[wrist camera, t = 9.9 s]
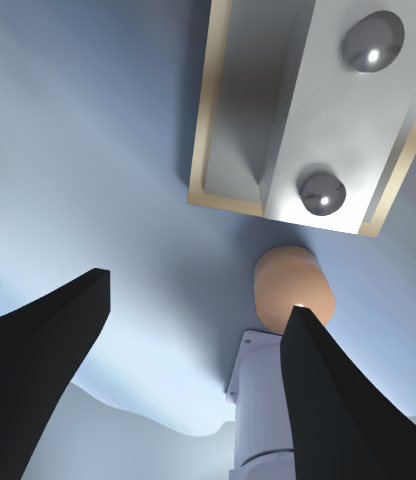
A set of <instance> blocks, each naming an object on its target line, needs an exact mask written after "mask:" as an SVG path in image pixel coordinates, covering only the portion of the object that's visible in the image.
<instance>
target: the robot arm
mask: <svg viewBox="0 0 416 480" xmlns="http://www.w3.org/2000/svg"><path fill="white" fill-rule="evenodd" d="M109 313H110V271H109V270H104V269H99V268H94V269H92V270H90V271H88V272H86V273H84V274H83V275H81V276H79V277H77V278H76V279H74V280H72V281H70V282H69V283H67V284H65V285H63V286H61V287H60V288H58V289H56V290H54V291H52V292H51V293H49V294H47V295H45V296H43V297H41V298H39V299H37V300H35V301H33V302H31V303H29V304H27V305H25V306H23V307H21V308H19V309H17V310H15V311H12V312H10V313H8V314H6V315H3V316H1V317H0V480H21V478H22V475H23V473H24V471H25V469H26V467H27V464H28V462H29V460H30V458H31V456H32V454H33V452H34V450H35V448H36V446H37V444H38V441H39V439H40V437H41V435H42V433H43V431H44V429H45V427H46V425H47V423H48V421H49V419H50V417H51V415H52V413H53V411H54V409H55V407H56V405H57V403H58V401H59V399H60V398H61V396H62V394H63V392H64V391H65V389H66V387H67V385H68V384H69V382H70V381H71V379H72V378H73V376H74V374H75V373H76V371H77V370H78V368H79V367H80V365H81V363H82V362H83V360H84V359H85V357H86V355H87V354H88V352H89V351H90V349H91V348H92V346H93V344H94V343H95V341H96V340H97V338H98V336H99V335H100V333H101V331H102V329H103V326H104V324H105V322H106V320H107V318H108V316H109ZM247 340H249V341H247ZM226 401H227V402H229V403H233V404H236V416H235V458H234V459H235V460H234V465H235V469H233V470H230V471H229V480H416V425H415V424H414V423H413V422H412V421H411V420H409V419H408V418H407V417H406V416H405V415H404V414H403V413H402V412H401V411H399V410H398V409H397V408H396V407H395V406H394V405H393V404H392V403H391V402H390V401H389V400H388V399H387V398H386V397H385V396H384V395H383V394H382V393H381V392H380V391H379V390H378V389H377V388H376V387H375V386H374V385H373V384H372V383H371V382H370V381H369V380H368V379H367V378H366V377H365V375H364V374H363V373H362V372H361V371H360V370H359V369H358V368H357V366H356V365H355V364H354V363H353V362H352V361H351V360H350V358H349V357H348V356H347V355H346V354H345V352H344V351H343V350H342V349H341V348H340V346H339V345H338V344H337V343H336V341H335V340H334V339H333V338H332V336H331V335H330V334H329V332H328V331H327V330H326V329H325V327H324V326H323V325H322V323H321V322H320V321H319V319H318V318H317V317H316V316H315V314H314V313H313V312H312V310H311V309H310V308H306V307H301V306H295V305H294V306H293V309H292V311H291V314H290V317H289V320H288V322H287V325H286V328H285V330H284V333H283V336H277V335H272V334H267V333H262V332H256V331H251V330H247V331H245V332H244V334H243V337H242V341H241V344H240V348H239V352H238V355H237V359H236V362H235V366H234V369H233V373H232V377H231V380H230V384H229V387H228V391H227V395H226Z"/></svg>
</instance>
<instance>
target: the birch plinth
mask: <svg viewBox="0 0 416 480" xmlns="http://www.w3.org/2000/svg"><path fill="white" fill-rule="evenodd" d="M305 2H306V0H212V4H211V12H210V20H209V28H208V37H207V45H206V53H205V61H204V69H203V77H202V86H201V94H200V102H199V110H198V118H197V126H196V134H195V143H194V151H193V159H192V167H191V175H190V183H189V192H188V200H187V203H188V204H193V205H199V206H204V207H210V208H215V209H221V210H226V211H232V212H238V213H243V214H249V215H254V216H260V217H263V214H262V207H261V201H260V195H259V189H258V183H259V179H260V174H261V170H262V165H263V161H264V156H265V152H266V147H267V143H268V138H269V133H270V129H271V124H272V120H273V115H274V111H275V106H276V102H277V97H278V93H279V88H280V84H281V79H282V75H283V70H284V66H285V61H286V57H287V52H288V48H289V43H290V39H291V34H292V30H293V25H294V21H295V16H296V15H297V13H298V12H299V10H300V9H301V8H302V6H303V5H304V3H305ZM415 154H416V92H415V94H414V96H413V99H412V101H411V104H410V106H409V108H408V111H407V113H406V116H405V118H404V121H403V123H402V125H401V128H400V130H399V133H398V135H397V137H396V140H395V142H394V145H393V147H392V149H391V152H390V154H389V157H388V159H387V162H386V164H385V166H384V169H383V171H382V174H381V176H380V178H379V181H378V183H377V186H376V188H375V190H374V193H373V195H372V198H371V200H370V203H369V205H368V207H367V210H366V212H365V215H364V217H363V219H362V222H361V224H360V227H359V229H358V231H357V234H360V235H365V236H371V237H377V235H378V233H379V231H380V228H381V226H382V224H383V222H384V220H385V218H386V216H387V214H388V211H389V209H390V207H391V205H392V203H393V201H394V199H395V196H396V194H397V192H398V190H399V188H400V186H401V184H402V181H403V179H404V177H405V175H406V173H407V171H408V169H409V167H410V164H411V162H412V160H413V158H414V156H415ZM354 234H355V233H354Z"/></svg>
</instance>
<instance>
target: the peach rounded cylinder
mask: <svg viewBox="0 0 416 480" xmlns="http://www.w3.org/2000/svg"><path fill="white" fill-rule="evenodd" d="M254 292H255V309H256V314H257V316H258V319H259V320H260V322H261V323H262V324H263V325H264V326H265V327H266V328H268V329H269V330H271V331H273V332H275V333H277V334H280V335H283V333H284V330H285V328H286V325H287V322H288V320H289V317H290V314H291V311H292V309H293V306H294V305H295V306H301V307H306V308H310V309H311V310H312V312H313V313H314V314H315V316H316V317H317V318H318V319H319V321H320V322H321V323H322V325H323V326H325V325H326V324H327V323H328V322H329V320H330V319H331V317H332V316H333V313H334V310H335V298H334V295H333V293H332V291H331V288H330V286H329V284H328V282H327V280H326V277H325V275H324V273H323V271H322V268H321V266H320V264H319V262H318V260H317V258H316V257H315V256H314V255H313V254H312V253H311V252H310V251H309V250H307V249H305V248H303V247H300V246H296V245H282V246H277V247H274V248H272V249H270V250H268V251H267V252H265V253H264V254H263V255H262V256H261V257H260V258H259V259H258V261H257V262H256V264H255V267H254Z"/></svg>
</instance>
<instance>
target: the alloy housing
mask: <svg viewBox="0 0 416 480" xmlns="http://www.w3.org/2000/svg"><path fill="white" fill-rule="evenodd" d="M415 92H416V0H306V2H305V3H304V5H303V6H302V8H301V9H300V10H299V12H298V13H297V15H296V16H295V21H294V25H293V30H292V34H291V39H290V43H289V48H288V52H287V57H286V61H285V66H284V70H283V75H282V79H281V84H280V88H279V93H278V97H277V102H276V106H275V111H274V115H273V120H272V124H271V129H270V133H269V138H268V143H267V147H266V152H265V156H264V161H263V165H262V170H261V174H260V179H259V183H258V189H259V195H260V201H261V207H262V214H263V218H266V219H272V220H278V221H284V222H290V223H296V224H301V225H307V226H313V227H319V228H325V229H331V230H337V231H343V232H349V233H355V234H357V231H358V229H359V227H360V224H361V222H362V219H363V217H364V215H365V212H366V210H367V207H368V205H369V203H370V200H371V198H372V195H373V193H374V190H375V188H376V186H377V183H378V181H379V178H380V176H381V174H382V171H383V169H384V166H385V164H386V162H387V159H388V157H389V154H390V152H391V149H392V147H393V145H394V142H395V140H396V137H397V135H398V133H399V130H400V128H401V125H402V123H403V121H404V118H405V116H406V113H407V111H408V108H409V106H410V104H411V101H412V99H413V96H414V94H415Z"/></svg>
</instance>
